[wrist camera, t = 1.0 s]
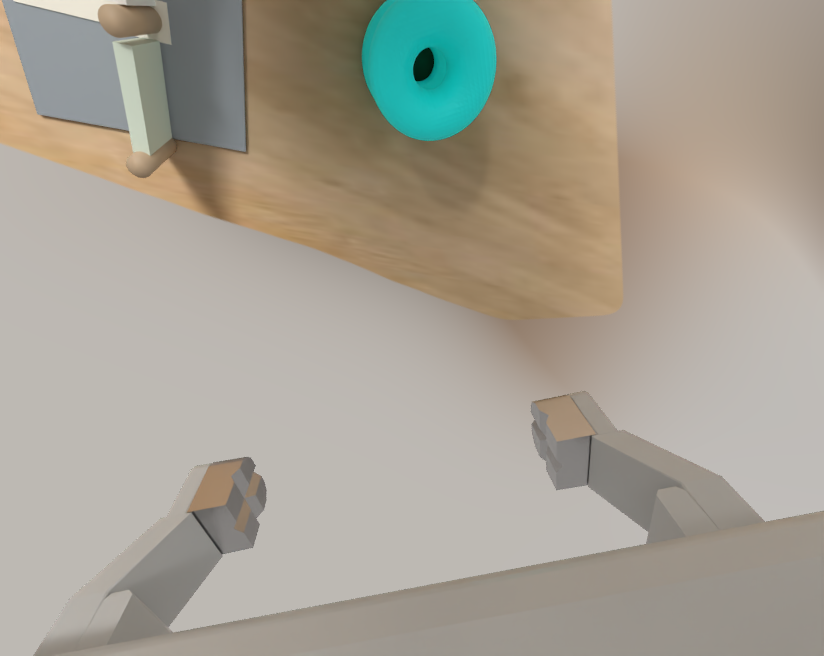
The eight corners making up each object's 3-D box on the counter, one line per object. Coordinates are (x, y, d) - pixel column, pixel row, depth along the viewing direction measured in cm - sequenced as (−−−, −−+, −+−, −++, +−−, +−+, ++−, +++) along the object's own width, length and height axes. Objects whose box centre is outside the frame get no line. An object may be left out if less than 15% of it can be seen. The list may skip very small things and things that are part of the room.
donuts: (350, 11, 26) (494, -39, 26) (344, 11, 33) (455, -27, 33) (392, 161, 32) (507, 123, 32) (379, 132, 40) (472, 101, 40)
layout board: (-70, -238, 23) (-75, -241, 23) (238, -127, 28) (237, -128, 27) (39, 113, 34) (36, 114, 34) (246, 151, 39) (245, 152, 39)
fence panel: (138, 36, 32) (100, 41, 26) (163, 42, 32) (131, 48, 27) (156, 151, 37) (128, 175, 32) (177, 155, 38) (153, 179, 32)
